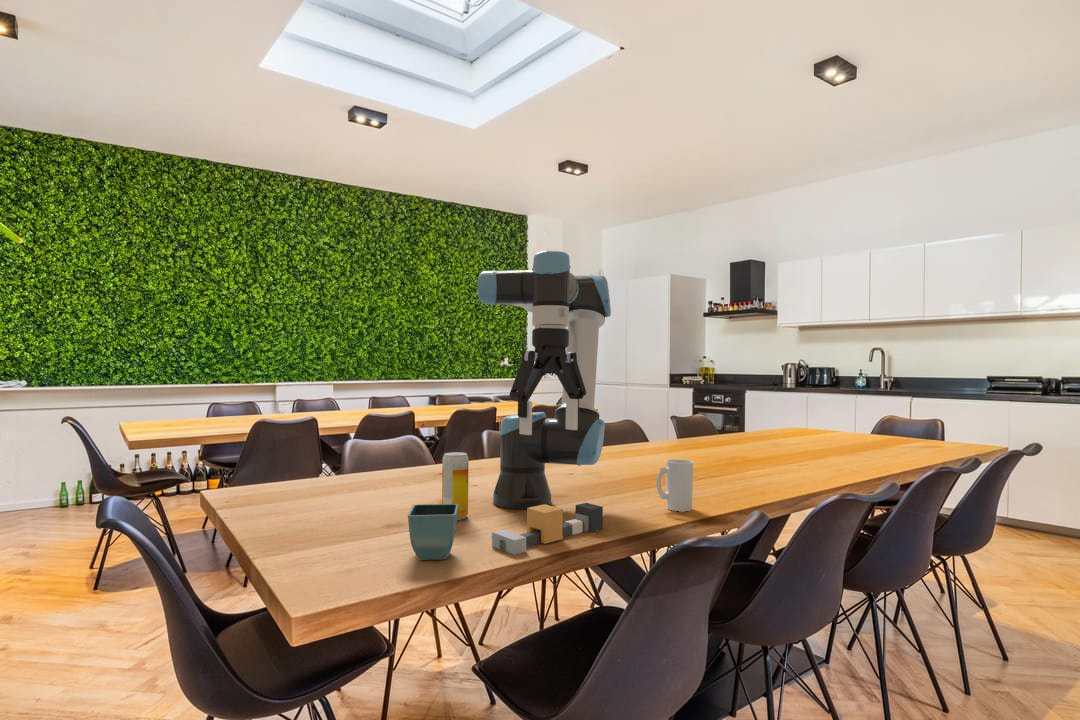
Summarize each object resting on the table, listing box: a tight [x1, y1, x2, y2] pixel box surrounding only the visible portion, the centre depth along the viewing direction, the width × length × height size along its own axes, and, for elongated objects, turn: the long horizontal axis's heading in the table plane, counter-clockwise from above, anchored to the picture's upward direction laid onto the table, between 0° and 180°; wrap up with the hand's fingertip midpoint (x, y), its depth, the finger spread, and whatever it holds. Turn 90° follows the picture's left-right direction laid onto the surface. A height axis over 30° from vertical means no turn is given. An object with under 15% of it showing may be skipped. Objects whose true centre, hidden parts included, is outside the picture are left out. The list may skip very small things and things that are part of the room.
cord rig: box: [491, 502, 604, 556], centre depth 128 cm, size 26×7×5 cm, turn 132°
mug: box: [656, 458, 694, 513], centre depth 154 cm, size 10×7×12 cm, turn 112°
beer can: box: [441, 451, 470, 521], centre depth 144 cm, size 6×6×15 cm
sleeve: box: [526, 504, 564, 544], centre depth 127 cm, size 5×5×6 cm
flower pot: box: [407, 503, 458, 561], centre depth 116 cm, size 9×9×9 cm
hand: (549, 432), depth 125 cm, fingers open, 13 cm apart
